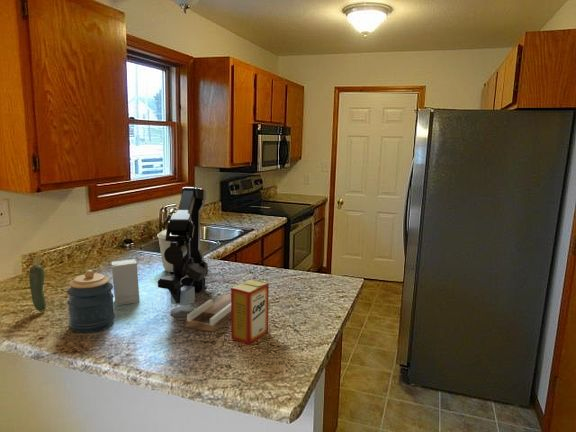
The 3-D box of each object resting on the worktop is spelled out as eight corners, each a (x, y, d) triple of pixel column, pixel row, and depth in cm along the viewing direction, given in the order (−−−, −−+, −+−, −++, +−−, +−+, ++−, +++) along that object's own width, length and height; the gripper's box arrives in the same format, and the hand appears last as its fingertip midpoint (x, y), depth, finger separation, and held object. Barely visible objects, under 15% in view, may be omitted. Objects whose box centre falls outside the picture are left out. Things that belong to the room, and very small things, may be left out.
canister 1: (85, 337, 122) (81, 279, 119) (60, 326, 129) (55, 271, 126) (123, 322, 133) (120, 268, 130) (98, 312, 140) (95, 261, 137)
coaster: (165, 315, 138) (165, 313, 138) (179, 306, 146) (179, 305, 146) (186, 319, 136) (186, 317, 136) (199, 310, 143) (199, 308, 143)
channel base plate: (185, 326, 130) (185, 320, 130) (223, 299, 153) (223, 293, 153) (214, 332, 127) (214, 325, 127) (248, 302, 150) (248, 297, 150)
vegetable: (32, 315, 136) (26, 256, 133) (32, 310, 140) (27, 253, 136) (47, 313, 138) (42, 254, 135) (48, 308, 142) (43, 251, 139)
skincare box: (137, 297, 154) (136, 258, 151) (139, 302, 149) (138, 262, 146) (113, 300, 150) (111, 260, 148) (114, 306, 145) (112, 265, 142)
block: (186, 306, 137) (186, 291, 136) (170, 303, 139) (170, 289, 138) (194, 300, 142) (194, 286, 141) (179, 298, 143) (179, 284, 143)
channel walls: (187, 320, 130) (186, 314, 129) (209, 304, 143) (209, 299, 142) (212, 325, 127) (212, 319, 126) (233, 308, 140) (233, 303, 139)
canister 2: (149, 271, 185) (147, 224, 181) (181, 261, 199) (180, 218, 196) (177, 279, 175) (175, 229, 171) (208, 268, 189) (207, 223, 186)
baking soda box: (248, 344, 120) (248, 291, 117) (231, 338, 123) (231, 286, 120) (268, 332, 127) (268, 282, 125) (251, 326, 131) (251, 278, 128)
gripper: (186, 266, 126) (187, 314, 129) (216, 251, 143) (217, 294, 146) (155, 261, 130) (157, 309, 132) (188, 248, 147) (189, 290, 150)
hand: (182, 300), depth 140 cm, fingers closed on block, 5 cm apart
